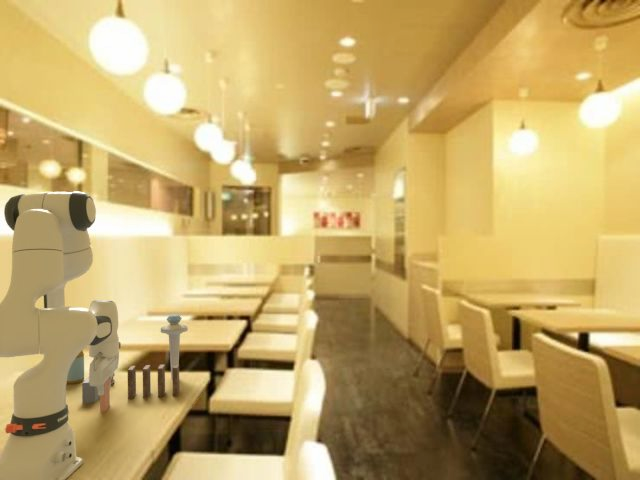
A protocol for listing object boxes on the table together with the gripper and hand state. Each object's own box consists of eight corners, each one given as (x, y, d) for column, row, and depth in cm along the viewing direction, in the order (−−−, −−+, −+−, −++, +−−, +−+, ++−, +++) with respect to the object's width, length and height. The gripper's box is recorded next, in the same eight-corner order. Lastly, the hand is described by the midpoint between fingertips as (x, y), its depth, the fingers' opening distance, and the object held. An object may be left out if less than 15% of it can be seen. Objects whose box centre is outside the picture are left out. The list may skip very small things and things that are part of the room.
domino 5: (179, 391, 173) (179, 363, 173) (177, 395, 168) (177, 367, 168) (174, 391, 173) (174, 363, 173) (172, 396, 168) (172, 367, 168)
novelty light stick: (187, 373, 194) (186, 312, 194) (188, 381, 185) (187, 316, 184) (161, 376, 191) (160, 313, 191) (161, 383, 182) (160, 318, 181)
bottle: (81, 377, 190) (81, 340, 190) (86, 381, 185) (85, 343, 184) (62, 381, 186) (61, 342, 185) (66, 385, 180) (65, 345, 180)
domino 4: (165, 392, 173) (164, 364, 172) (162, 396, 168) (162, 368, 167) (160, 392, 172) (160, 364, 172) (157, 396, 167) (157, 368, 167)
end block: (95, 402, 162) (94, 382, 162) (82, 403, 161) (82, 382, 161) (103, 393, 172) (103, 373, 172) (91, 393, 171) (91, 374, 171)
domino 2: (136, 393, 171) (135, 365, 171) (132, 398, 166) (132, 369, 166) (131, 393, 171) (130, 365, 171) (127, 398, 166) (127, 369, 166)
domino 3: (150, 392, 172) (150, 365, 172) (147, 397, 167) (147, 368, 167) (145, 393, 172) (145, 365, 171) (143, 397, 167) (142, 369, 166)
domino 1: (109, 405, 159) (109, 375, 159) (105, 411, 154) (104, 380, 154) (104, 405, 159) (104, 376, 159) (100, 411, 154) (99, 380, 154)
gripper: (104, 356, 146) (105, 401, 147) (122, 341, 167) (122, 381, 167) (83, 357, 146) (83, 403, 146) (102, 342, 166) (103, 382, 166)
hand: (104, 391), depth 157 cm, fingers closed on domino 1, 5 cm apart
